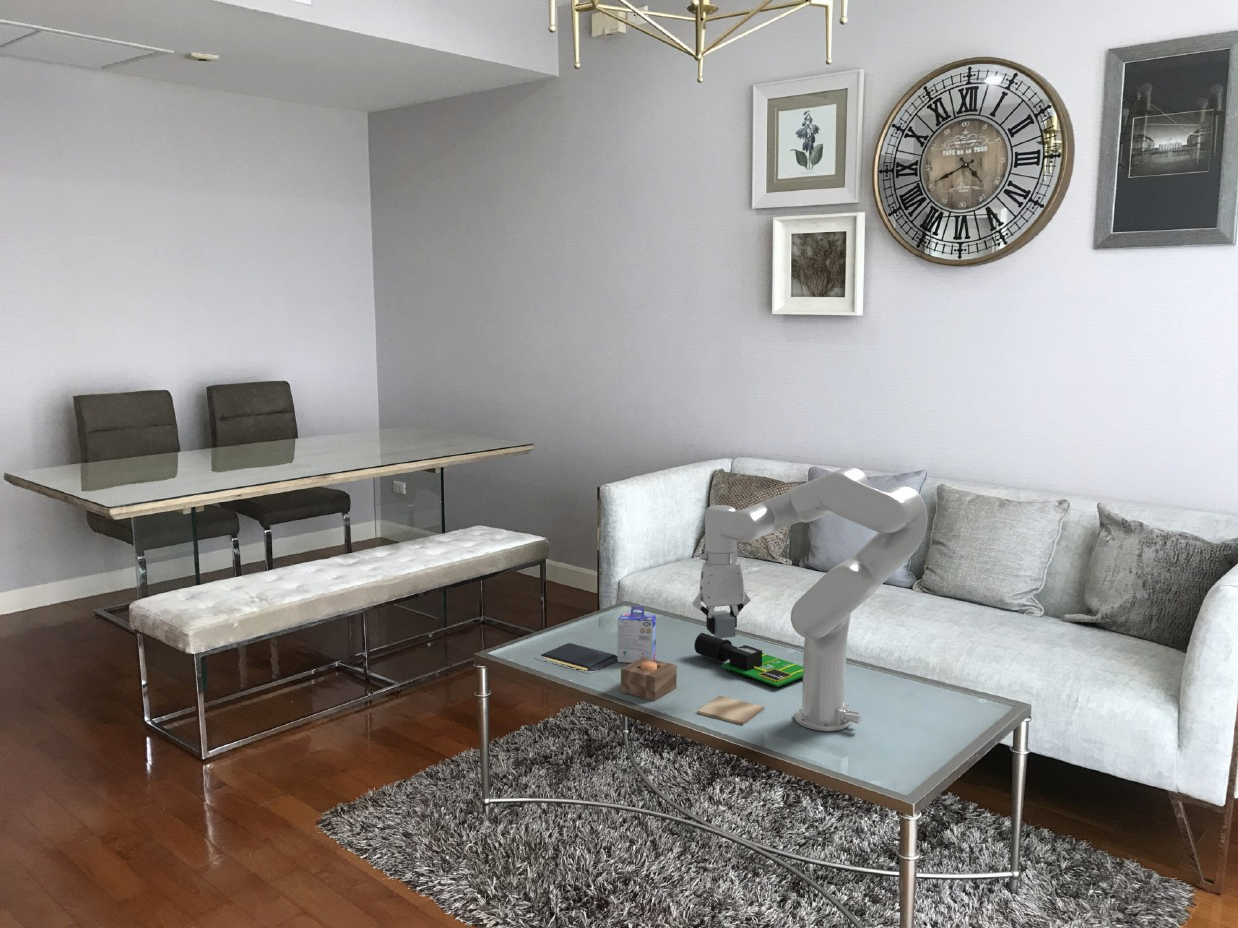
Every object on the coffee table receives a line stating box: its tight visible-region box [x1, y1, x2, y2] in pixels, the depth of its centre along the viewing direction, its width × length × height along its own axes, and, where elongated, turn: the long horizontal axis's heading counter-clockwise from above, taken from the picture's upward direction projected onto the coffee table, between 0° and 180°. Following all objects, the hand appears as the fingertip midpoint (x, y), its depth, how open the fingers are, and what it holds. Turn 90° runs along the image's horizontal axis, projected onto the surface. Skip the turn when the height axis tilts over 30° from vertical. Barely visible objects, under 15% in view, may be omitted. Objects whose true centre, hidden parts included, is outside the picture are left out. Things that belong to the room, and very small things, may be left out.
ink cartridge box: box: [616, 606, 657, 664], centre depth 263 cm, size 10×6×14 cm, turn 79°
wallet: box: [540, 642, 618, 672], centre depth 266 cm, size 20×2×15 cm
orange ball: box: [641, 662, 657, 672], centre depth 243 cm, size 4×4×4 cm
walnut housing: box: [620, 657, 678, 702], centre depth 243 cm, size 10×10×6 cm
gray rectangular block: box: [712, 609, 736, 639], centre depth 236 cm, size 7×4×4 cm, turn 13°
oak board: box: [696, 695, 765, 726], centre depth 231 cm, size 12×11×1 cm
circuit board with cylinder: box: [693, 631, 803, 688], centre depth 258 cm, size 30×7×15 cm
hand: (721, 630), depth 236 cm, fingers closed on gray rectangular block, 4 cm apart
